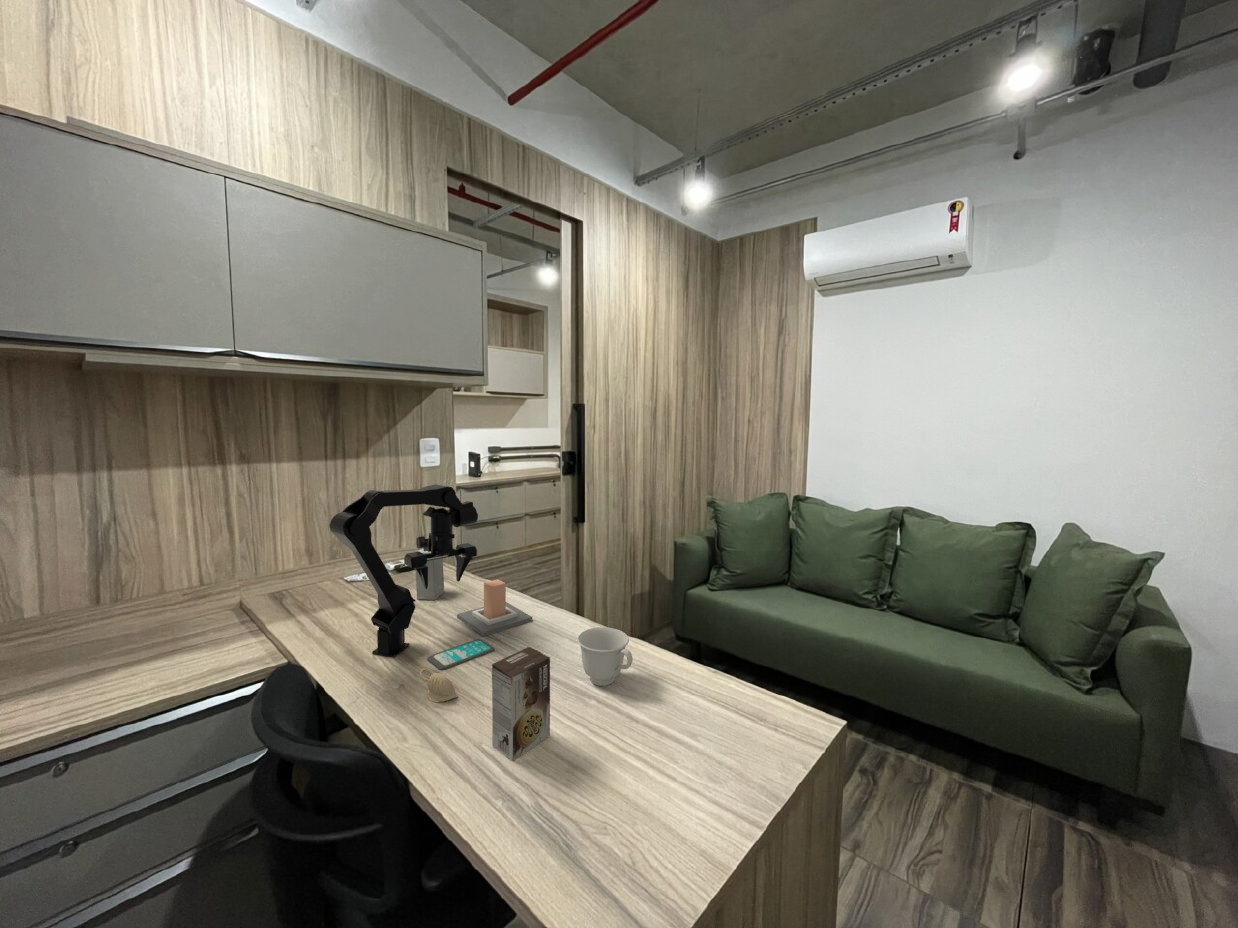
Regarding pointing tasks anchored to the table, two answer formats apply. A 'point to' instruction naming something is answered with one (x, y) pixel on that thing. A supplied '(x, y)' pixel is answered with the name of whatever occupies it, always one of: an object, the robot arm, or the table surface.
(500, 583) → the terracotta block
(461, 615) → the dock board
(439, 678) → the beige creamer pitcher
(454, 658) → the smartphone
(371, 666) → the table surface
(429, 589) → the skincare box
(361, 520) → the robot arm
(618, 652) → the teacup
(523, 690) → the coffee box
